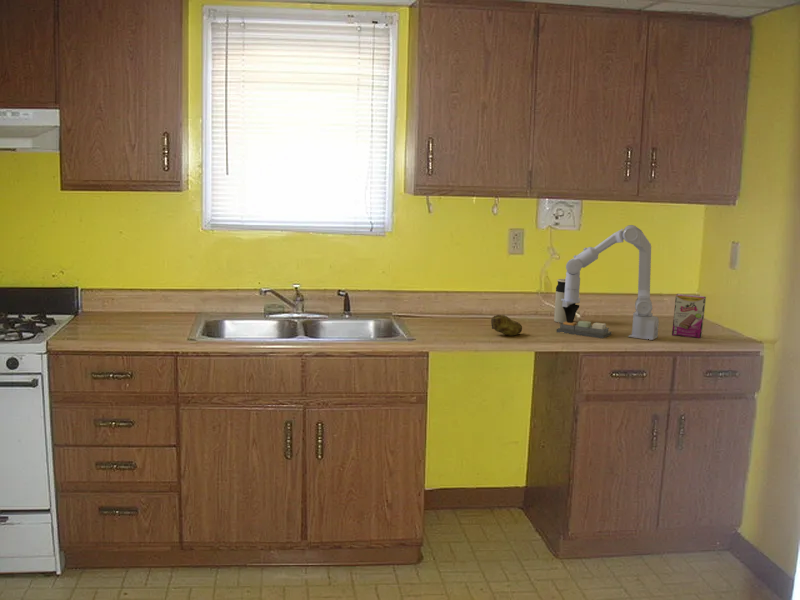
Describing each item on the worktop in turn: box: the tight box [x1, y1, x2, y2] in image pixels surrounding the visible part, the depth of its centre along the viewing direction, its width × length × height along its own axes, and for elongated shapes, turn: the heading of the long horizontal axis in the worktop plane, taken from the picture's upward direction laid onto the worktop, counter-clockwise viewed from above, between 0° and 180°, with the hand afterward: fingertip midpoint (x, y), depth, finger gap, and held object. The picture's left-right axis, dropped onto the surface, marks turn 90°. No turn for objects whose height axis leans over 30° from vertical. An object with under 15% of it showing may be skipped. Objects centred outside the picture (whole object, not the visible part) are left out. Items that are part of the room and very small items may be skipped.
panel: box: [556, 322, 612, 339], centre depth 326 cm, size 19×10×3 cm, turn 58°
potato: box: [490, 314, 523, 336], centre depth 318 cm, size 8×13×8 cm, turn 95°
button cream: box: [592, 322, 607, 329], centre depth 323 cm, size 4×4×2 cm
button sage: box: [577, 320, 592, 327], centre depth 326 cm, size 4×4×2 cm
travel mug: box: [553, 278, 567, 324], centre depth 348 cm, size 8×8×18 cm
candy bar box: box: [671, 293, 707, 339], centre depth 327 cm, size 11×5×16 cm, turn 66°
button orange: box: [563, 321, 578, 326], centre depth 329 cm, size 4×4×2 cm
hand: (569, 322), depth 329 cm, fingers closed, pressing on button orange
